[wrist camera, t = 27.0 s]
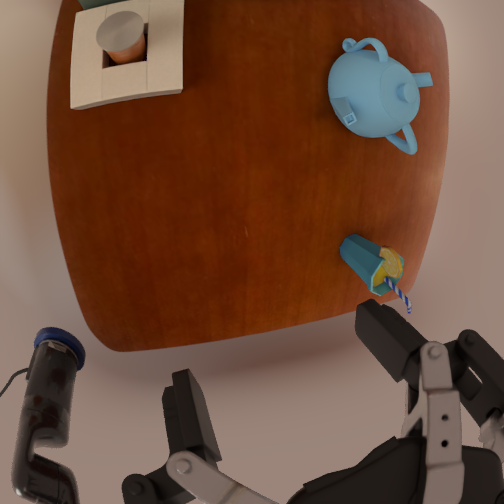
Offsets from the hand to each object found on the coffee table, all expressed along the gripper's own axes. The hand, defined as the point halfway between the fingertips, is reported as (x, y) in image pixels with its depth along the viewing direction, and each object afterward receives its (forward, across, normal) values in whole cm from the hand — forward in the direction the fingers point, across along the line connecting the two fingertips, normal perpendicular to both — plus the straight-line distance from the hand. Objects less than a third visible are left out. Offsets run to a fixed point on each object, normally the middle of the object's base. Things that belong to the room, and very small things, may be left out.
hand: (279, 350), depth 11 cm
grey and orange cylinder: (+28, +4, -21) cm, 35 cm away
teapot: (+28, -28, -10) cm, 41 cm away
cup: (+28, -24, +17) cm, 41 cm away
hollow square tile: (+28, +4, -21) cm, 35 cm away
